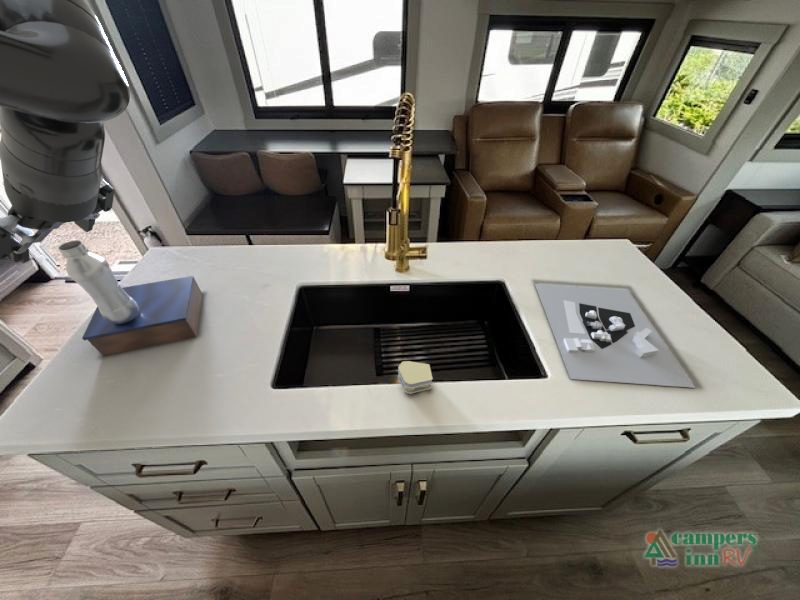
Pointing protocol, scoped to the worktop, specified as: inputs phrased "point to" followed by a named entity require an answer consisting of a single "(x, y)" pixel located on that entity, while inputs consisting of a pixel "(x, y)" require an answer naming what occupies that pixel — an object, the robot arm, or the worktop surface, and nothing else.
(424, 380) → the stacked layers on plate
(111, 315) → the plastic bottle
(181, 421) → the worktop surface
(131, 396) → the worktop surface
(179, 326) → the lidded box
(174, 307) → the box lid
